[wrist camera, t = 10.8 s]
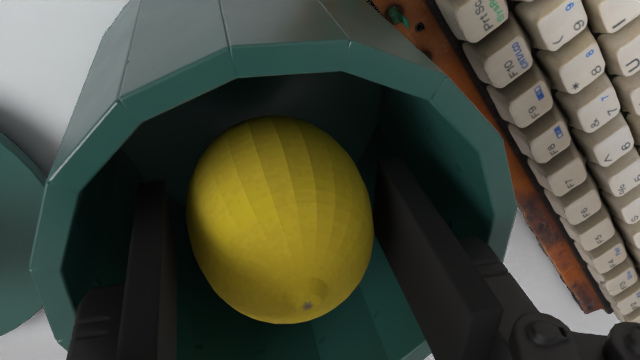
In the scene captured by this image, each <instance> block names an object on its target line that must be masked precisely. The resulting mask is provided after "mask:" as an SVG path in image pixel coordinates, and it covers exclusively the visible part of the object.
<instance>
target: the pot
mask: <svg viewBox="0 0 640 360" xmlns="http://www.w3.org/2000/svg"><path fill="white" fill-rule="evenodd" d="M265 115H275V116H288V117H292V118H296V119H299V120H303V121H307V122H309V123H311V124H312V125H314V126H316V127H317V128H319V129H321V130H323V131H324V132H326V133H328V134H329V135H330V136H331V137H332V138H333V139H334V140H335V141H336V142H337V143H338V144H339V145H340V146H341V147H342V148H343V149H344V150H345V151H346V152H347V153H348V155H349V156H350V157H351V158H352V160H353V161H354V163H355V165H356V167H357V169H358V171H359V173H360V175H361V177H362V179H363V182H364V184H365V186H366V188H367V191H368V194H369V199H370V203H371V210H372V218H373V206H374V195H375V183H376V171H377V159H378V158H388V157H398V156H401V158H402V159H403V161H404V162H405V163H406V165H407V166H408V168H409V169H410V171H411V172H412V174H413V175H414V177H415V178H416V180H417V181H418V183H419V184H420V186H421V187H422V189H423V190H424V191H425V193H426V194H427V196H428V197H429V199H430V200H431V202H432V203H433V205H434V206H435V208H436V209H437V211H438V212H439V214H440V215H441V217H442V218H443V219H444V221H445V222H446V224H447V225H448V227H449V228H450V230H451V231H452V233H453V234H454V236H455V237H456V238H457V237H465V236H472V235H475V236H476V237H477V238H479V239H480V240H482V241H483V242H485V243H486V244H488V245H489V246H490V247H491V248H492V250H493V251H494V252H495V254H496V255H497V256H498V258H499V259H500V262H502V263H503V260H504V256H505V253H506V249H507V245H508V241H509V238H510V234H511V230H512V226H513V223H514V219H515V215H516V211H517V209H516V208H517V203H516V198H515V194H514V189H513V184H512V179H511V174H510V170H509V165H508V160H507V155H506V151H505V146H504V141H503V138H502V137H501V135H500V133H499V132H498V131H497V130H496V129H495V128H494V127H493V125H492V124H491V123H490V122H489V121H488V120H487V119H486V118H485V116H484V115H483V114H482V113H481V112H480V111H479V110H478V109H477V108H476V106H475V105H474V104H473V103H472V102H471V101H470V100H469V99H468V98H467V96H466V95H465V94H464V93H463V92H462V91H461V90H460V89H459V87H458V86H457V85H456V84H455V83H454V82H453V81H452V80H451V79H450V77H449V76H448V75H447V74H445V73H444V72H443V71H442V70H441V69H440V68H439V67H438V66H437V65H436V64H434V63H433V62H432V61H431V60H430V59H429V58H428V57H427V56H426V55H425V54H423V53H422V52H421V51H420V50H419V49H418V48H417V47H416V46H415V45H414V44H413V43H411V42H410V41H409V40H408V39H407V38H406V37H405V36H404V35H403V34H402V33H400V32H399V31H398V30H397V29H396V28H395V27H394V26H393V25H392V24H391V23H389V22H388V21H387V20H386V19H385V18H384V17H383V16H382V15H381V14H380V13H379V12H377V11H376V10H375V9H374V8H373V7H372V6H371V5H370V4H369V3H368V2H366V1H365V0H130V1H129V2H128V3H127V4H126V5H125V7H124V8H123V9H122V11H121V12H120V14H119V15H118V17H117V18H116V19H115V21H114V22H113V23H112V25H111V26H110V27H109V28H108V30H107V31H106V32H105V33H104V36H103V37H102V40H101V42H100V45H99V47H98V50H97V52H96V55H95V58H94V60H93V63H92V65H91V68H90V70H89V73H88V75H87V78H86V81H85V83H84V86H83V88H82V91H81V93H80V96H79V98H78V101H77V104H76V106H75V109H74V111H73V114H72V116H71V119H70V121H69V124H68V127H67V129H66V132H65V134H64V137H63V139H62V142H61V145H60V147H59V150H58V152H57V155H56V157H55V160H54V162H53V165H52V168H51V170H50V173H49V175H48V178H47V180H46V183H45V188H44V193H43V197H42V202H41V207H40V212H39V217H38V222H37V227H36V232H35V237H34V242H33V247H32V252H31V256H30V261H29V268H30V269H29V271H30V273H31V276H32V279H33V281H34V284H35V287H36V289H37V292H38V295H39V297H40V300H41V302H42V305H43V308H44V310H45V313H46V316H47V318H48V321H49V324H50V326H51V329H52V332H53V334H54V337H55V339H56V340H57V342H58V343H59V344H60V345H61V346H62V347H63V348H64V349H65V350H67V351H68V350H69V345H70V340H72V337H71V336H72V331H73V327H74V325H75V318H76V313H77V308H78V304H79V303H80V302H81V300H82V299H83V298H84V296H85V295H86V294H87V292H88V291H89V289H90V288H93V287H100V286H108V285H115V284H123V283H125V281H126V273H127V265H128V257H129V249H130V241H131V233H132V225H133V217H134V209H135V201H136V193H137V185H138V183H140V182H150V181H160V180H165V182H166V188H167V194H168V200H169V206H170V212H171V217H172V223H173V229H174V235H175V241H176V247H177V347H176V360H423V359H425V358H426V357H427V356H429V355H430V354H431V353H432V352H431V350H430V348H429V346H428V343H427V341H426V339H425V337H424V335H423V333H422V331H421V329H420V327H419V325H418V323H417V321H416V319H415V316H414V314H413V312H412V310H411V308H410V306H409V304H408V302H407V300H406V298H405V296H404V294H403V292H402V290H401V287H400V285H399V283H398V281H397V279H396V277H395V275H394V273H393V271H392V269H391V267H390V265H389V263H388V261H387V258H386V256H385V254H384V252H383V250H382V248H381V246H380V244H379V242H378V240H377V238H376V236H375V234H374V240H373V247H372V253H371V258H370V261H369V264H368V267H367V269H366V271H365V273H364V275H363V277H362V280H361V281H360V283H359V284H358V285H357V287H356V288H355V289H354V290H353V292H352V293H351V294H350V295H349V297H348V298H346V299H345V300H344V301H343V302H342V303H340V304H339V305H338V306H337V307H336V308H334V309H333V310H331V311H329V312H327V313H326V314H324V315H322V316H320V317H317V318H315V319H312V320H309V321H305V322H300V323H294V324H273V323H269V322H264V321H259V320H256V319H253V318H251V317H249V316H246V315H244V314H242V313H240V312H238V311H237V310H235V309H234V308H232V307H231V306H230V305H229V304H228V303H226V302H225V301H224V300H223V299H222V298H220V297H219V295H218V294H217V293H216V292H215V291H214V290H213V288H212V286H211V285H210V283H209V282H208V280H207V278H206V277H205V275H204V274H203V272H202V270H201V269H200V267H199V265H198V263H197V261H196V258H195V256H194V253H193V250H192V246H191V242H190V237H189V233H188V229H187V223H186V205H187V194H188V186H189V182H190V179H191V176H192V174H193V172H194V169H195V167H196V164H197V162H198V160H199V158H200V156H201V155H202V154H203V152H204V151H205V150H206V149H207V147H208V146H209V145H210V144H211V142H212V141H213V140H214V139H215V138H216V137H218V136H219V135H220V134H221V133H223V132H224V131H225V130H227V129H228V128H229V127H231V126H233V125H236V124H238V123H240V122H242V121H244V120H247V119H251V118H256V117H260V116H265Z"/></svg>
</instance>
